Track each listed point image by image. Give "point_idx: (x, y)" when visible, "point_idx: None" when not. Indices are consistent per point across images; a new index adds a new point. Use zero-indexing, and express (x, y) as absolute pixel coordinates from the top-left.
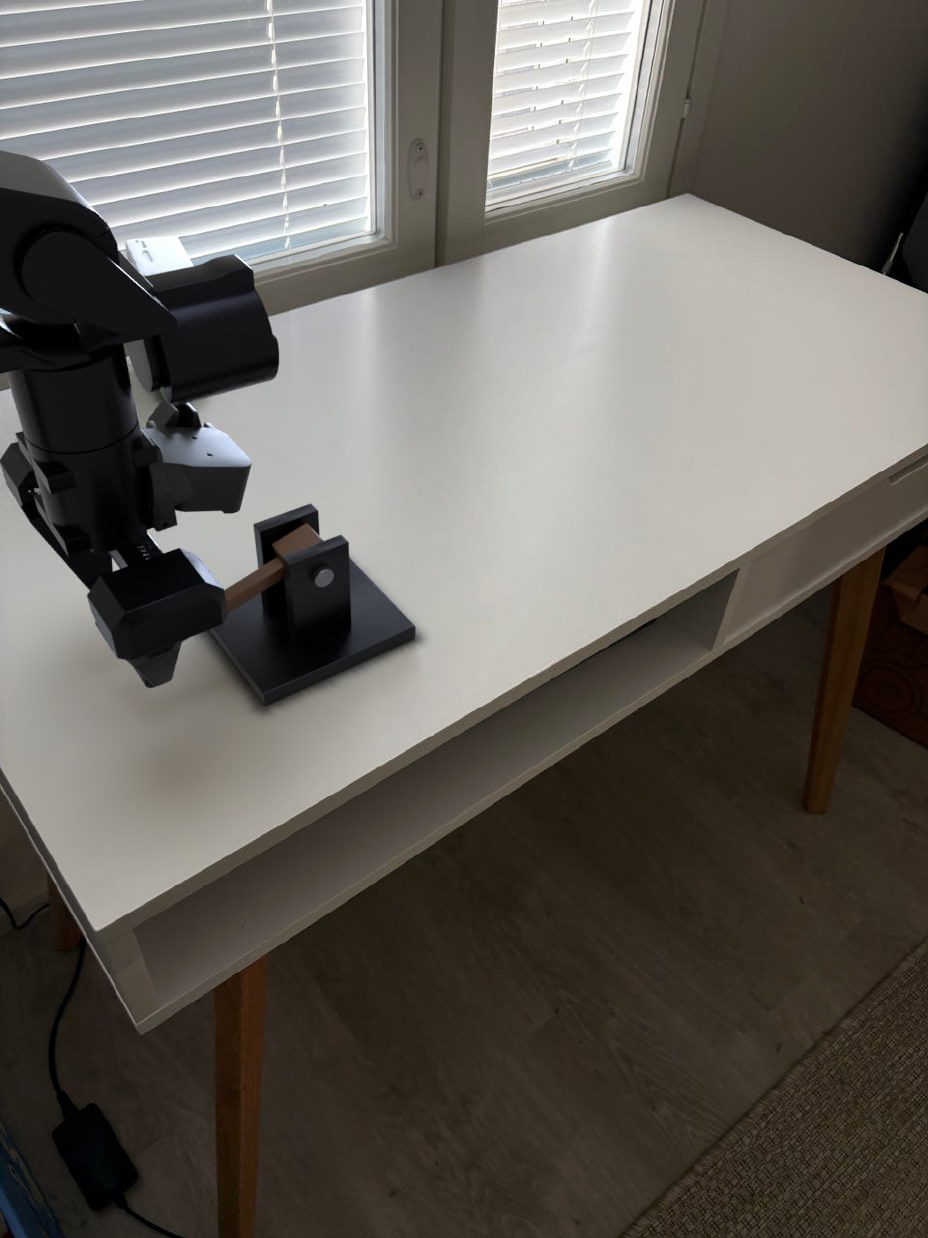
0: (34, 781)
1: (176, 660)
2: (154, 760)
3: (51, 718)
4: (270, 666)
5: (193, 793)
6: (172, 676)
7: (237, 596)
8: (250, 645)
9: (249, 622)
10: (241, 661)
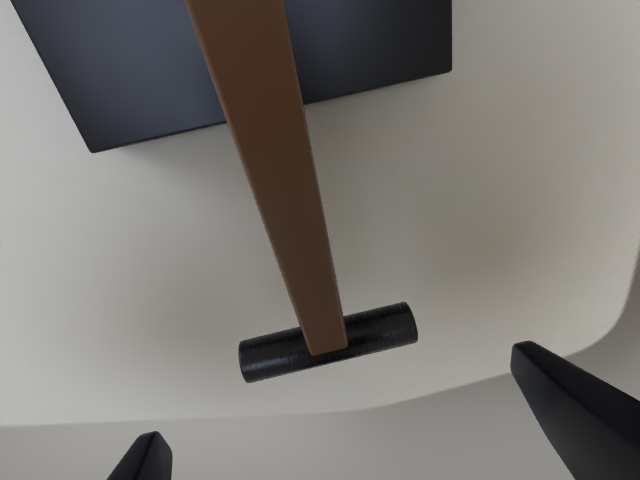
0: (400, 391)
1: (629, 396)
2: (445, 274)
3: (304, 379)
4: (376, 22)
5: (533, 234)
6: (543, 348)
7: (302, 104)
8: None
9: (181, 27)
10: (328, 95)
